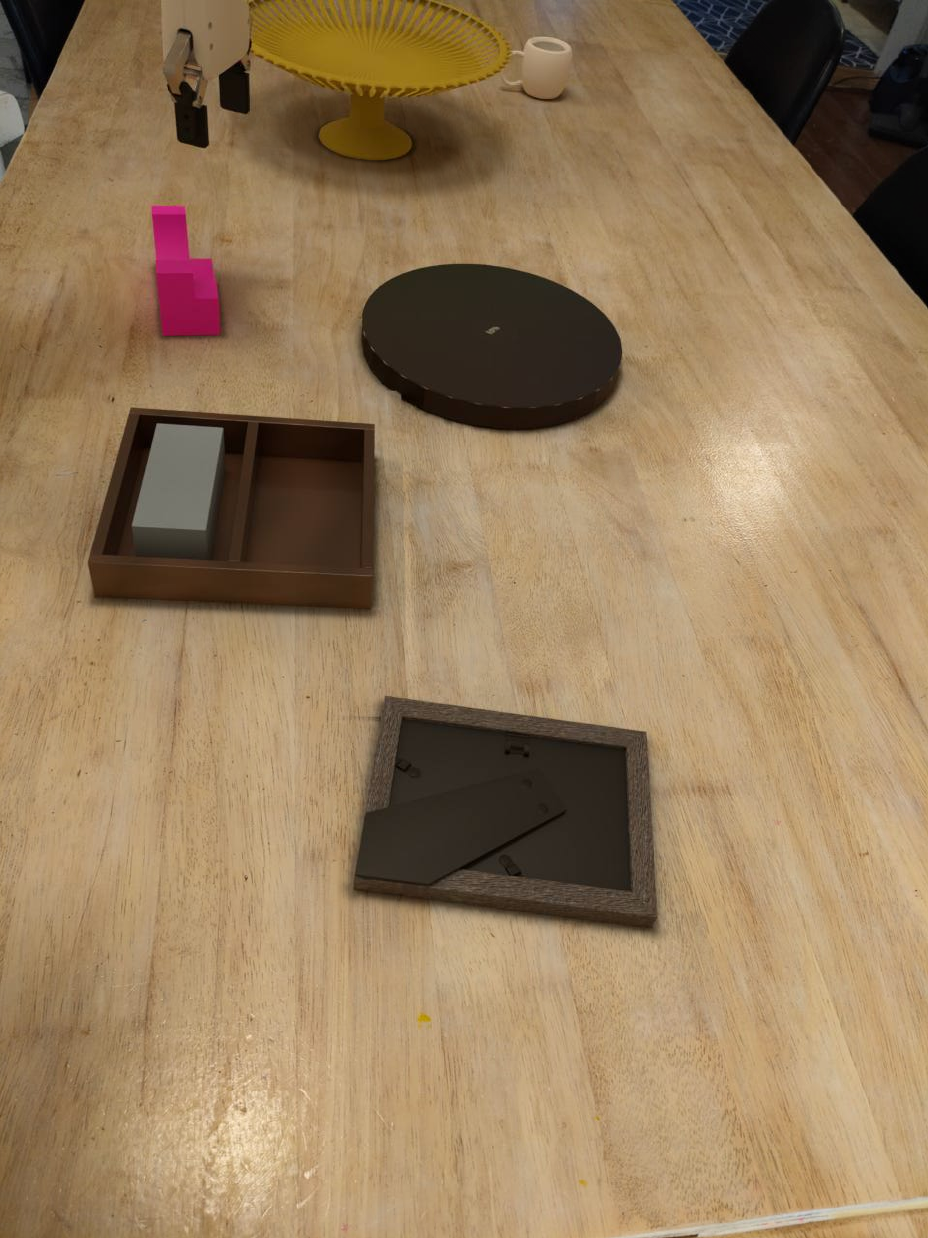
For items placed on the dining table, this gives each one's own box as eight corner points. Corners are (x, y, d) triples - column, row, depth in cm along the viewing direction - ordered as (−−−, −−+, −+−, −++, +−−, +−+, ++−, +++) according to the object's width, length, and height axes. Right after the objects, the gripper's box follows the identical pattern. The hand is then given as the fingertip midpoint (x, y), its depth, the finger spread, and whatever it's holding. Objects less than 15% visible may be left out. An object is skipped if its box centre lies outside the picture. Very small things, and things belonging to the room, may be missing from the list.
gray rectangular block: (138, 569, 88) (131, 525, 84) (161, 465, 98) (156, 422, 94) (209, 572, 89) (205, 529, 85) (226, 469, 98) (223, 427, 95)
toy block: (220, 334, 115) (217, 272, 109) (162, 335, 113) (156, 273, 108) (210, 265, 124) (207, 206, 119) (157, 266, 123) (151, 205, 117)
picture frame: (353, 888, 71) (651, 927, 72) (354, 874, 69) (658, 914, 70) (383, 707, 82) (641, 743, 83) (385, 692, 80) (647, 728, 81)
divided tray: (95, 601, 86) (87, 562, 82) (135, 445, 100) (130, 406, 97) (370, 613, 89) (373, 576, 85) (372, 460, 103) (374, 423, 100)
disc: (434, 259, 132) (436, 237, 130) (650, 337, 126) (657, 315, 123) (310, 366, 113) (310, 342, 110) (558, 465, 106) (564, 442, 104)
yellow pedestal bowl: (174, 111, 153) (165, -1, 142) (384, 71, 174) (390, -30, 163) (341, 227, 135) (345, 109, 124) (552, 166, 156) (571, 60, 145)
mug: (559, 85, 179) (568, 36, 174) (570, 105, 174) (579, 55, 168) (492, 80, 177) (499, 30, 171) (501, 100, 171) (508, 49, 166)
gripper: (208, -96, 99) (217, 90, 111) (118, -54, 87) (140, 149, 100) (281, -79, 98) (282, 106, 111) (200, -35, 87) (211, 167, 99)
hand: (214, 126), depth 105 cm, fingers open, 9 cm apart
